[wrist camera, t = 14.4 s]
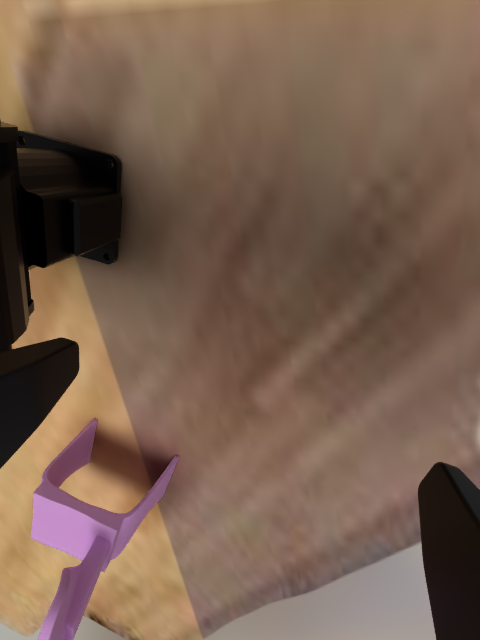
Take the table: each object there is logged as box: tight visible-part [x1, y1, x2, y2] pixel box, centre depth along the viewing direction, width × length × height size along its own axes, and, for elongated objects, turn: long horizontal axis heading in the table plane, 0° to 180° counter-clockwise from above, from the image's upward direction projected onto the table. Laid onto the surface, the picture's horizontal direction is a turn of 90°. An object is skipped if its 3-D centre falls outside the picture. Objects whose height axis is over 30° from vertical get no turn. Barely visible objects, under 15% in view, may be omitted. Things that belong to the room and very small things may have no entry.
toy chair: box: [31, 418, 179, 640], centre depth 24 cm, size 8×9×15 cm
